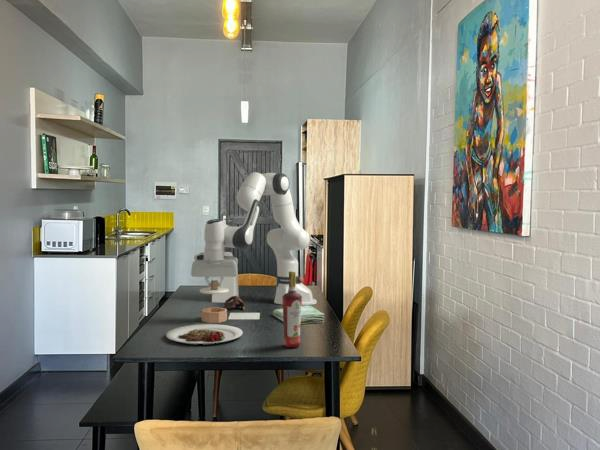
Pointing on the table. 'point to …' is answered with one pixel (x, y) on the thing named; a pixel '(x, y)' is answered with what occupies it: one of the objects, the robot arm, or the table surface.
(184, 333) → the plated food
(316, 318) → the towel
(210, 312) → the bowl
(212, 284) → the lid
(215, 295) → the milk
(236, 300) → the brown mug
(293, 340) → the liquor
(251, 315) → the mat
